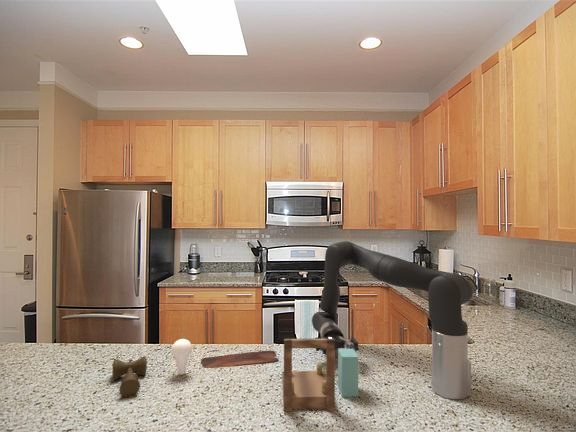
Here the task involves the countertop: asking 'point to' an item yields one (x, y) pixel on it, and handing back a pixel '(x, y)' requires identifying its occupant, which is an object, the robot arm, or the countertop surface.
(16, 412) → the countertop surface
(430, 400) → the countertop surface
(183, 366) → the lightbulb
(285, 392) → the peg shelf
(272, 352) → the wooden tablet
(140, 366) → the kendama
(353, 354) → the teal block
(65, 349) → the countertop surface
